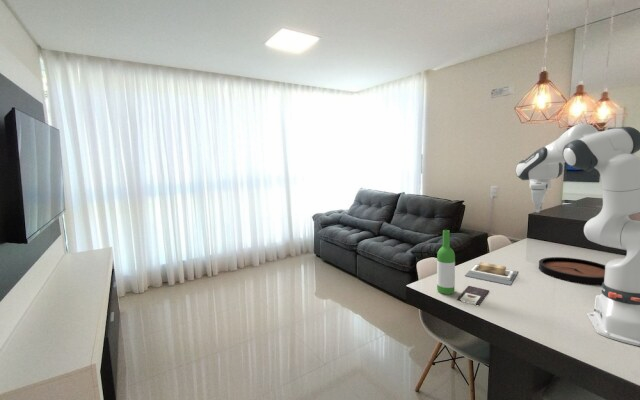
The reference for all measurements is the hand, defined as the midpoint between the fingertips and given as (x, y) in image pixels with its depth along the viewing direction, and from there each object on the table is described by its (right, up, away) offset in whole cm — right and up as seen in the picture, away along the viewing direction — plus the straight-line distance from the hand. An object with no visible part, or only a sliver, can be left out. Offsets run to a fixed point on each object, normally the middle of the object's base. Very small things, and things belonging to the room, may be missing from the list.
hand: (538, 210), depth 155 cm
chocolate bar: (-44, -39, -18) cm, 61 cm away
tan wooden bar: (-21, -34, +5) cm, 41 cm away
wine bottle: (-54, -39, -13) cm, 68 cm away
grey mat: (-21, -35, +6) cm, 41 cm away
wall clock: (+21, -34, +2) cm, 40 cm away
